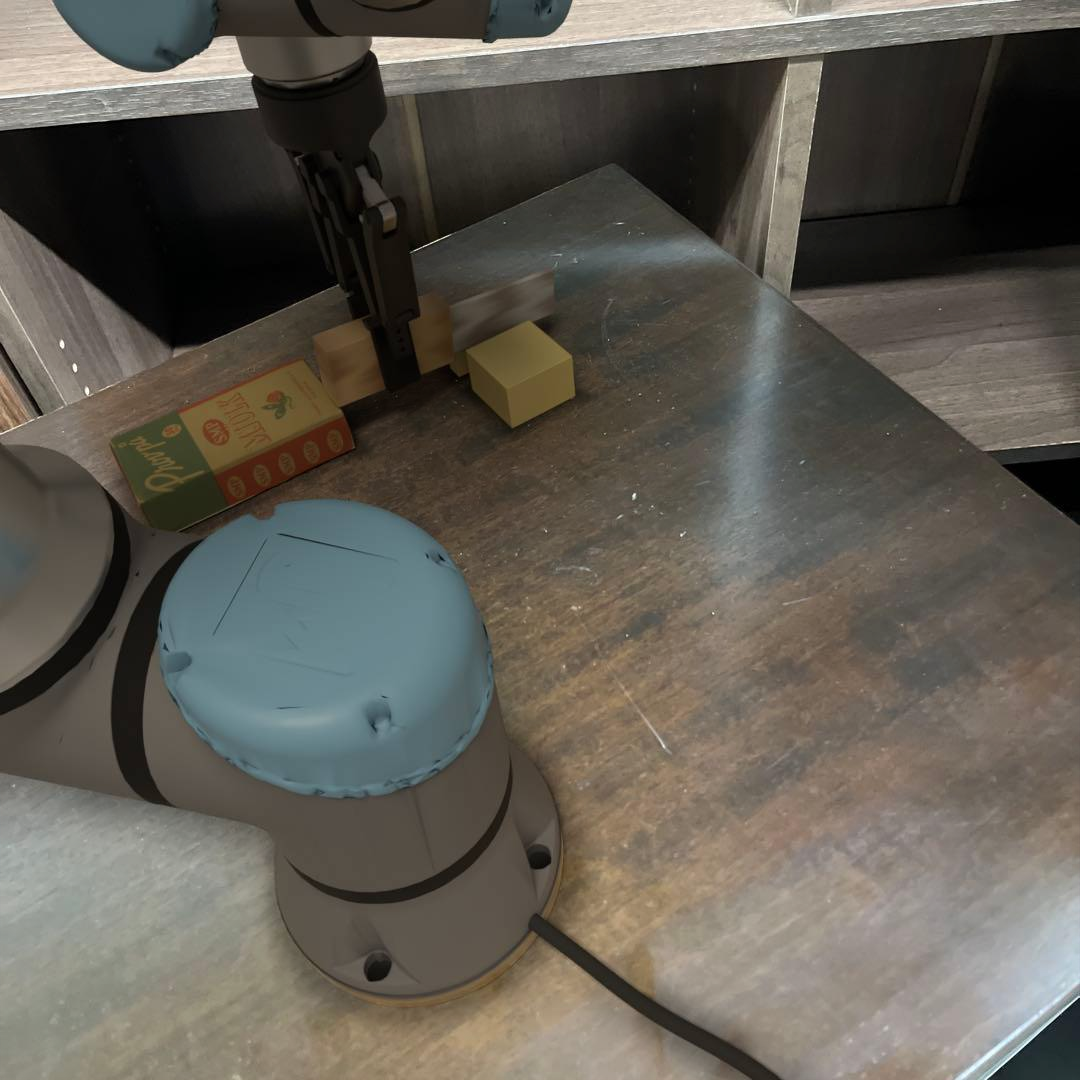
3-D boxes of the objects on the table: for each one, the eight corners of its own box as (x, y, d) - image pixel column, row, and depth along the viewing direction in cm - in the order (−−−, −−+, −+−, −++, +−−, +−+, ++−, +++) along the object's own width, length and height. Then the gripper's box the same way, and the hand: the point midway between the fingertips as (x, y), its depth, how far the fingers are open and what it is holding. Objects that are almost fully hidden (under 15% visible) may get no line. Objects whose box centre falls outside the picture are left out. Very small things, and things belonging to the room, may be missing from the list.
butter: (575, 396, 78) (572, 355, 75) (512, 429, 76) (506, 389, 73) (533, 359, 81) (529, 319, 78) (471, 389, 79) (464, 350, 76)
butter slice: (520, 347, 83) (515, 307, 80) (459, 377, 81) (451, 337, 78) (510, 339, 83) (505, 299, 80) (450, 368, 82) (442, 328, 79)
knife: (338, 408, 73) (326, 352, 69) (323, 391, 74) (311, 335, 71) (561, 319, 80) (561, 264, 77) (544, 304, 82) (543, 250, 78)
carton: (357, 451, 76) (344, 409, 73) (157, 544, 71) (133, 503, 68) (315, 394, 81) (301, 352, 78) (124, 477, 76) (101, 437, 73)
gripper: (433, 83, 54) (489, 405, 72) (313, 3, 63) (389, 306, 81) (310, 130, 52) (399, 451, 70) (204, 40, 61) (306, 344, 79)
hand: (393, 373), depth 75 cm, fingers closed on knife, 2 cm apart
